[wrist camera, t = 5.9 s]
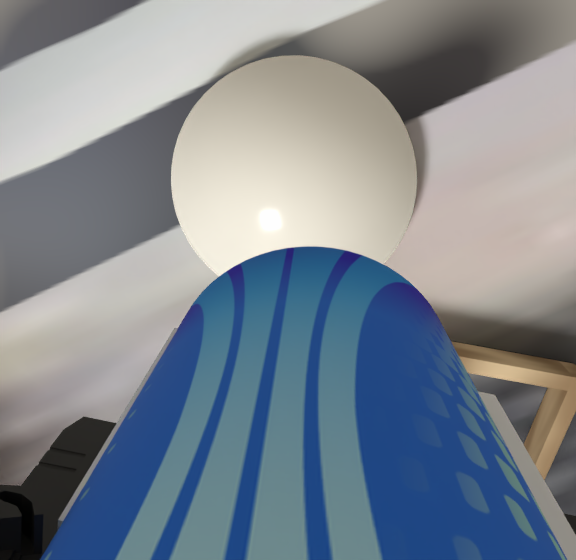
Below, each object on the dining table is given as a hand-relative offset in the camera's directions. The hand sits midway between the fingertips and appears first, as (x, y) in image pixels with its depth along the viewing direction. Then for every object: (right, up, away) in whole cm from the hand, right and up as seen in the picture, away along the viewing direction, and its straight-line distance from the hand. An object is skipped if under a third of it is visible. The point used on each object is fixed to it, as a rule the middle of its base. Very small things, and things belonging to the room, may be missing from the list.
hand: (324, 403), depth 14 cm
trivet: (-1, +9, +15) cm, 18 cm away
